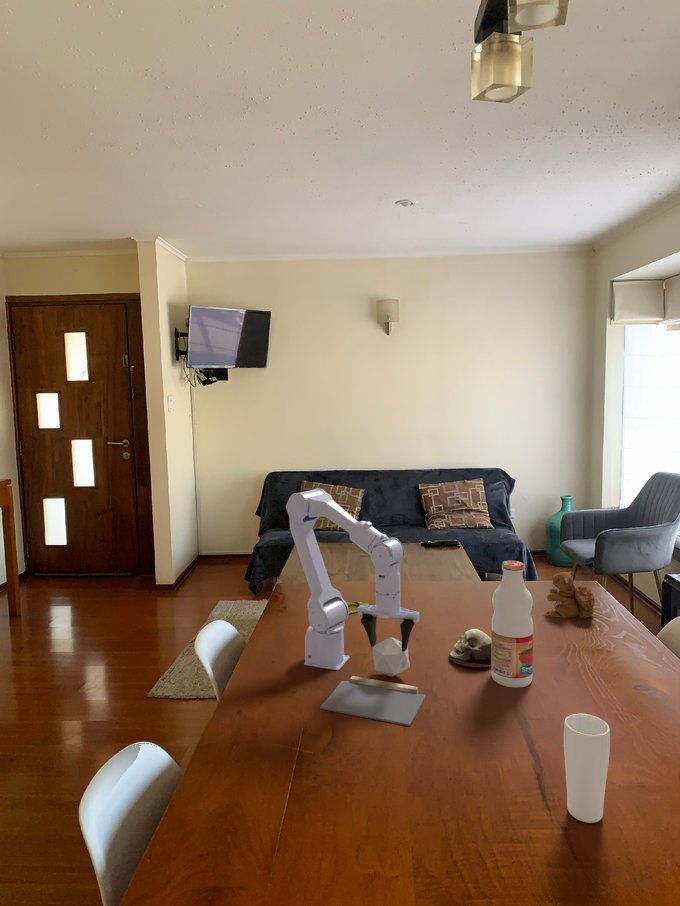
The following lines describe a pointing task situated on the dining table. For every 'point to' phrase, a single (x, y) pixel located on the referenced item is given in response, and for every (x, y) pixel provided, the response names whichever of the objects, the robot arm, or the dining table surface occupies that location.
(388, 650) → the die
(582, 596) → the stuffed squirrel
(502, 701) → the dining table surface
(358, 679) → the stop bar
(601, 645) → the dining table surface
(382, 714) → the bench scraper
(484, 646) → the skull
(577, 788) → the drinking glass
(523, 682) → the fruit juice
